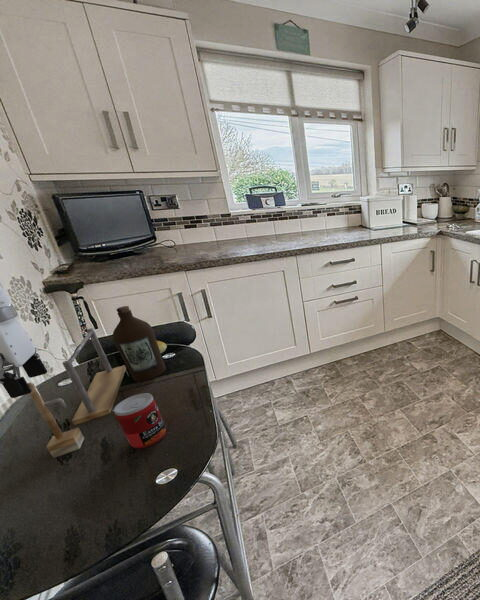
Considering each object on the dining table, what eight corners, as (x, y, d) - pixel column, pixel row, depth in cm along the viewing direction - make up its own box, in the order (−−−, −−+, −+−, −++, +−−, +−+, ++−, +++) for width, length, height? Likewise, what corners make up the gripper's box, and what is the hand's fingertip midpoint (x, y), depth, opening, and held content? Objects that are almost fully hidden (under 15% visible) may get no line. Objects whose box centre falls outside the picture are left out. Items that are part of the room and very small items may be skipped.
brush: (53, 458, 79) (11, 391, 72) (59, 447, 83) (20, 381, 76) (83, 447, 82) (46, 381, 75) (88, 436, 86) (53, 373, 78)
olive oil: (132, 373, 115) (103, 307, 106) (167, 362, 120) (143, 299, 111) (130, 387, 106) (98, 317, 98) (168, 374, 112) (141, 307, 103)
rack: (74, 425, 90) (43, 370, 84) (98, 376, 115) (75, 330, 108) (110, 413, 94) (83, 359, 88) (126, 368, 118) (106, 323, 112)
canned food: (149, 451, 79) (132, 414, 75) (122, 448, 80) (104, 412, 76) (174, 428, 86) (160, 393, 82) (149, 426, 87) (134, 392, 83)
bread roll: (138, 360, 123) (134, 351, 122) (146, 350, 131) (142, 341, 130) (164, 355, 126) (160, 346, 124) (169, 345, 134) (166, 336, 132)
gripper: (-15, 310, 74) (23, 374, 80) (-62, 337, 60) (-11, 411, 66) (30, 301, 78) (64, 363, 84) (-4, 324, 64) (39, 396, 70)
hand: (30, 384), depth 75 cm, fingers open, 9 cm apart
